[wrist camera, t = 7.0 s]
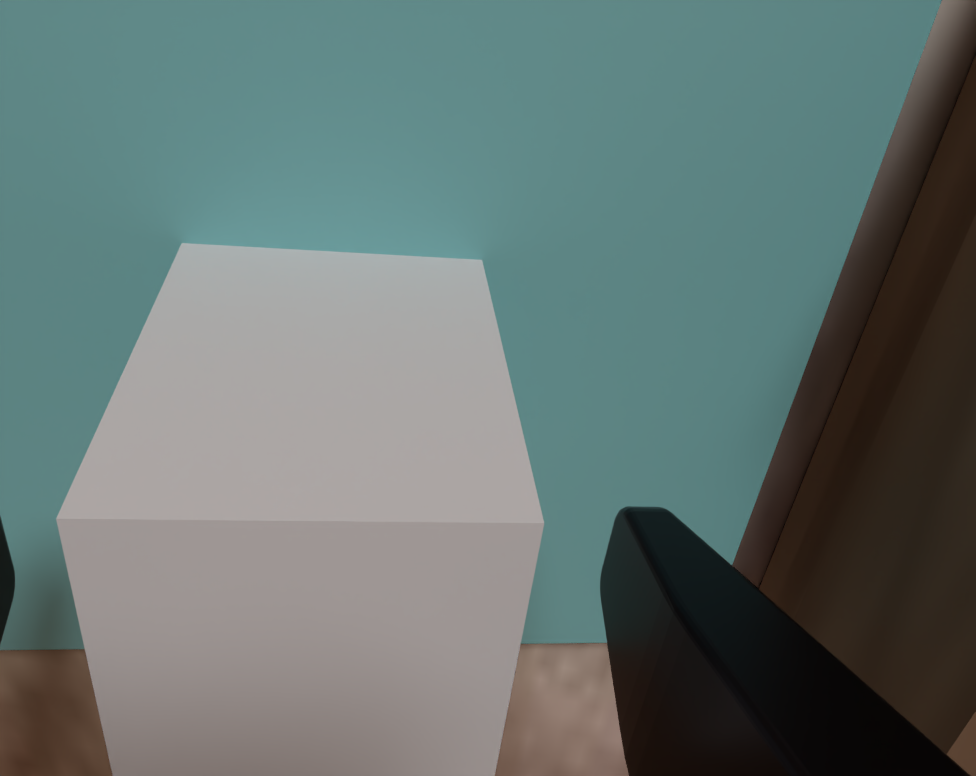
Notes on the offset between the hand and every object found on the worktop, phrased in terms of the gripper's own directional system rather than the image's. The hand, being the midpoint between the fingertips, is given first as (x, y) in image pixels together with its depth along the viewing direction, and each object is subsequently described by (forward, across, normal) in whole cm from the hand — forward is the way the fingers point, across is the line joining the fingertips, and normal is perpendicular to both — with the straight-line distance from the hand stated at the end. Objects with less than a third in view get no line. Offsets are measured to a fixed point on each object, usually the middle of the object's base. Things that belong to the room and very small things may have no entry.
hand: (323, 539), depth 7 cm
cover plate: (+4, 0, 0) cm, 4 cm away
